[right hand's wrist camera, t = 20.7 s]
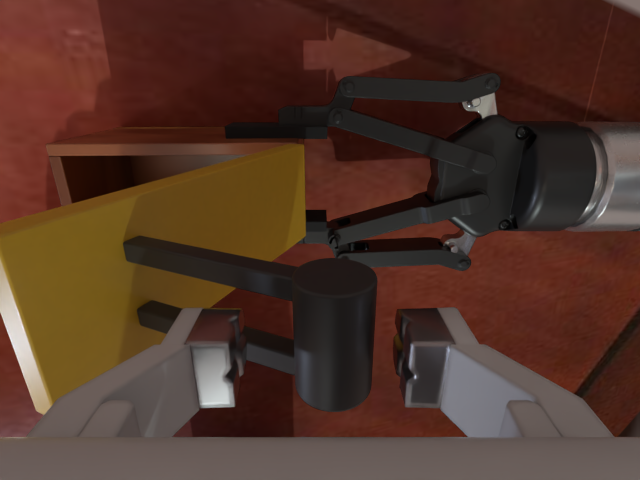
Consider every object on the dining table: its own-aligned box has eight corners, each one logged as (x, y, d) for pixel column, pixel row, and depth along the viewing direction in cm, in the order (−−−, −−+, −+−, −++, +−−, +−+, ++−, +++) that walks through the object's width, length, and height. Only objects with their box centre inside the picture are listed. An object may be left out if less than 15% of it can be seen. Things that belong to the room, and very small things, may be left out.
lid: (35, 411, 11) (314, 554, 8) (-31, 231, 9) (310, 317, 6) (292, 233, 25) (437, 257, 21) (289, 143, 23) (450, 153, 19)
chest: (132, 194, 34) (68, 233, 25) (119, 127, 32) (44, 143, 23) (304, 194, 34) (299, 232, 25) (303, 126, 32) (297, 142, 23)
